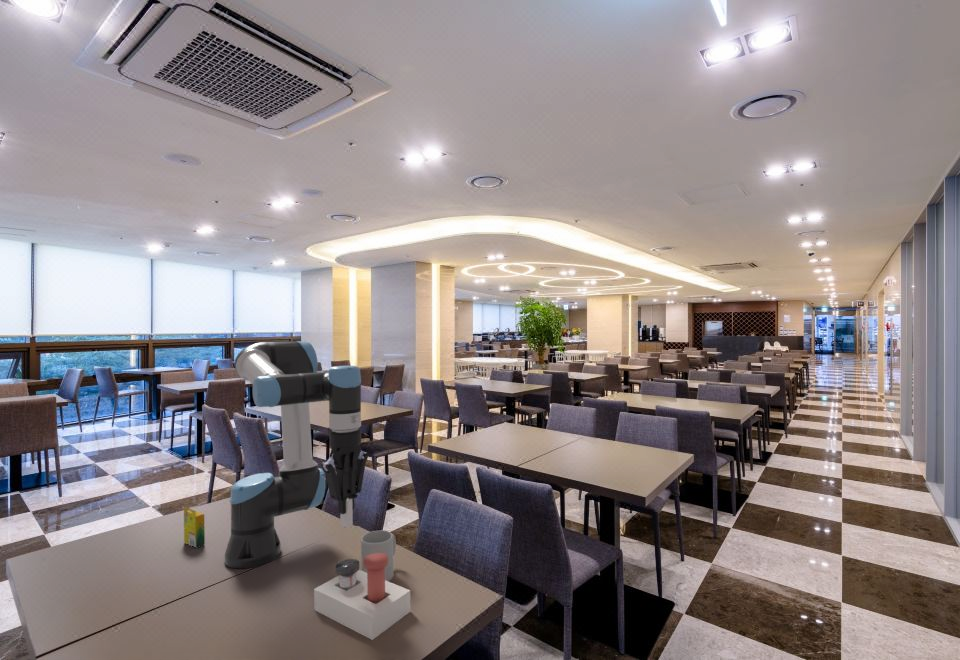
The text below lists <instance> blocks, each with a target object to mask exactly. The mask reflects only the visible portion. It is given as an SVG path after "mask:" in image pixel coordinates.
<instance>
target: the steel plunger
mask: <svg viewBox="0 0 960 660" xmlns="http://www.w3.org/2000/svg"><path fill="white" fill-rule="evenodd" d="M358 570H360V561H359V560H358V559H354V558H350V559H349V558H348V559H343V560H341V561H339V562H337V563H336V564H335V574H337V576H339V588H341V589H343V590H346V591H347V590H349V589H351V588H352V587H354V586H356V572H357V571H358Z"/></svg>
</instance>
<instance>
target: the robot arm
mask: <svg viewBox="0 0 960 660" xmlns="http://www.w3.org/2000/svg"><path fill="white" fill-rule="evenodd" d="M318 363H319V361H318V357H317V352H316V350H315V347H314V346H313V344H312V343H310V342H309V341H306V340H305V341H302V340H285V341H261V342H256V343H253V344H250V345H247V346H246V347H244V348H243V349H241V350H240V351H239V352H238V354H237V355H236V357H235V359H234V370H235V372H236V373H237V375H238V376H239V377H240V379H242V380H245V381H248V382H249V383H251V384H252V399H253V402H254V405H255V406H257V407H259V408H267V407H268V408H274V407H279V406H280V413H281V415H280V417H281V433H282V450H283V454H282V455H283V464H282V466H281V467H280V468H279V469H278V476H275V475H273V473H271V472H263V473H262V472H260V473H254V474H251V475H249V476H245V477H243V478H241V479H239V480H238V481H236V482H235V483H234V484H233V485H232V486H231V488H230V499H229V504H230V537H229V540H228V541H227V542H228V543H227V546H226V549H225V552H224V565H226V566H227V567H228V568H232V569H248V568H254V567H257V566H261V565H264V564H266V563H269V562H270V561H273V560H274V559H276V558H277V557H278V556H279V555H280V553H281V551H282V550H281V549H282V548H281V547H282V545H281V544H282V543H281V541H280V538H279V536H278V532H277V530H276V527H275V517H279V516H284V515H287V514H292V513H296V512H302V511H303V510H304V511H307V510H309V509H313V508H315V507H318V506H319V505H321V503H322V502H323V500H324V497H325V493H326V483H327V486H328V487H327V488H328V491H329V492H328V493H329V496H330V499H332V500H334V501H337V506H338V507H337V508H338V510H337V511H338V514H340V519H339V521H340V526H343V527H346V528H350V527H352V526H353V525H354V523H353V521H354V520H353V513H354V512H353V511H354V510H355V499H357V498H358V493H359V494H360V493H361V492H362V487H363V480H364V474H365V468H366V463H367V460H368V459H369V458H368V457H369V456H370V454H369V452H367V451H366V452H365V451H363V450H362V447H361V444H362V429H361V428H360V427H362V389H361V388H362V377H361V369H360V367H359V366H357V365H335V366H331V367H330V368H329V370H322V371H319V372H318V366H319V364H318ZM326 401H327V402H328V408H329V409H328V423H329V424H328V428H329V429H330V431H329V446H330V447H329V448H330V454H329V458H328V459H327V461H323V462H321V463H320V467H319V465H318V464H319V463H318V462H316V461H315V460H314V459H313V449H312V448H313V447H312V445H313V444H312V433H311V432H312V430H311V416H310V415H311V414H310V403H317V402H326Z"/></svg>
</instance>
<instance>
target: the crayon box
mask: <svg viewBox="0 0 960 660" xmlns="http://www.w3.org/2000/svg"><path fill="white" fill-rule="evenodd" d="M183 533H184V534H183V543H184V542H185V543H187V544H189V545H188V546H190V545H191V546H190V547H192V546H194V547H198V548H200V547H202V546H201V545H203V546H204V544H205V545H206V543H205V538H206V537H205V535H206V534H205V514H204V513H201V512H199V511H196V510H194V509H192V508H188V507H186V506H184V508H183ZM187 544H186V545H187ZM199 546H200V547H199ZM194 547H193V548H194Z"/></svg>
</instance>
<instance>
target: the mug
mask: <svg viewBox="0 0 960 660" xmlns="http://www.w3.org/2000/svg"><path fill="white" fill-rule="evenodd" d="M360 543H361V544H360V549H361V550H360V553H361V558H360V559H361V571H363V572H366V573H367V569H366V568H364V558H365V557H366V556H368V555H370V554H373V553H384V554H386V555H388V564H387V566H385V580H386V581H388V582H390V581H392V579H393V578H394V575H395V573H394V556H395V553H396V549H397V548H396V547H397V541H396V536H395V534H393V533H392V532H390V531H388V530H381V529H380V530H372V531H369V532H366V533H365V534H363V535H362V537H361V539H360Z"/></svg>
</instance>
